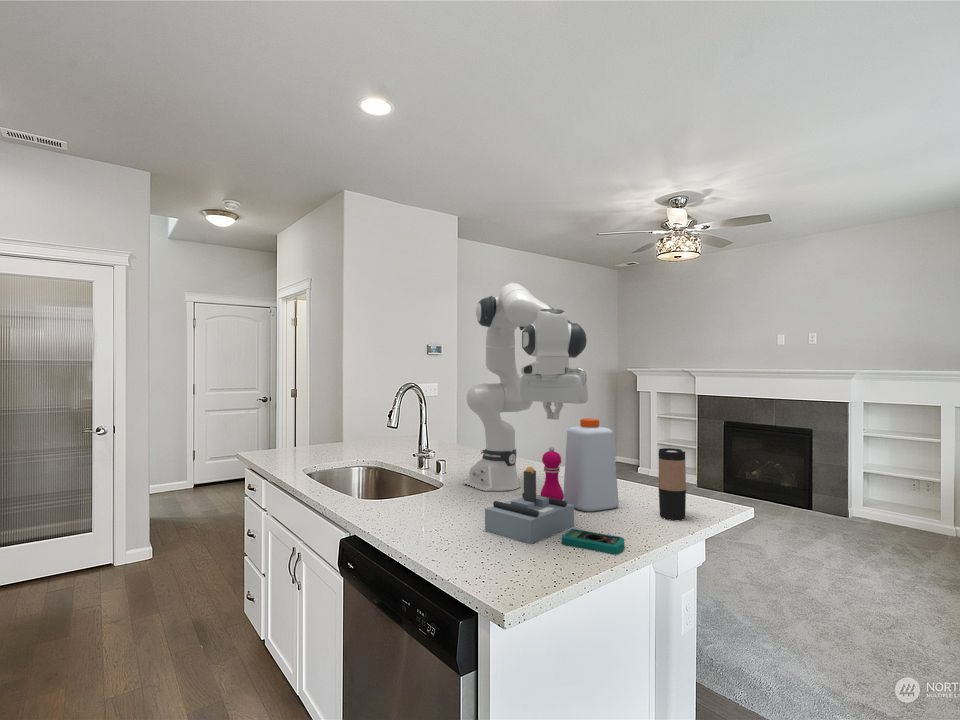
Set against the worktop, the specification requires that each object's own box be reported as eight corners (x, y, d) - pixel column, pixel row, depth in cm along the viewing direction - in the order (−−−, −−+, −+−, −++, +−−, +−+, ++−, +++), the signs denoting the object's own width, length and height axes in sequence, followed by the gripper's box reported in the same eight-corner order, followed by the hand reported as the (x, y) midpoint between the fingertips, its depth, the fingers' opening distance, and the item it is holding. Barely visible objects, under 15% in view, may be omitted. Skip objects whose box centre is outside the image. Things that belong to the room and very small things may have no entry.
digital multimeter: (618, 557, 120) (618, 545, 120) (560, 546, 127) (560, 534, 127) (626, 548, 126) (626, 536, 126) (570, 537, 134) (570, 526, 134)
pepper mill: (563, 513, 154) (562, 448, 154) (539, 512, 155) (539, 447, 156) (564, 507, 161) (563, 444, 161) (541, 506, 162) (541, 444, 163)
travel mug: (654, 517, 150) (653, 450, 150) (665, 511, 155) (665, 447, 156) (679, 522, 144) (678, 453, 145) (690, 516, 150) (689, 450, 150)
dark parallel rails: (491, 506, 140) (491, 501, 140) (524, 496, 151) (524, 491, 151) (536, 518, 130) (536, 511, 130) (568, 506, 140) (568, 500, 140)
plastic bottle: (624, 508, 159) (623, 420, 160) (583, 513, 154) (582, 422, 154) (596, 497, 173) (595, 416, 174) (558, 501, 168) (557, 418, 168)
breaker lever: (523, 506, 140) (523, 466, 140) (529, 504, 142) (529, 465, 142) (530, 507, 138) (529, 467, 139) (536, 505, 141) (536, 466, 141)
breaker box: (484, 530, 139) (484, 501, 139) (529, 514, 153) (529, 488, 153) (530, 544, 127) (530, 512, 128) (574, 525, 142) (574, 497, 142)
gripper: (592, 367, 131) (592, 420, 130) (530, 368, 145) (530, 415, 144) (579, 367, 126) (579, 422, 126) (516, 368, 140) (516, 417, 140)
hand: (552, 419), depth 135 cm, fingers closed
